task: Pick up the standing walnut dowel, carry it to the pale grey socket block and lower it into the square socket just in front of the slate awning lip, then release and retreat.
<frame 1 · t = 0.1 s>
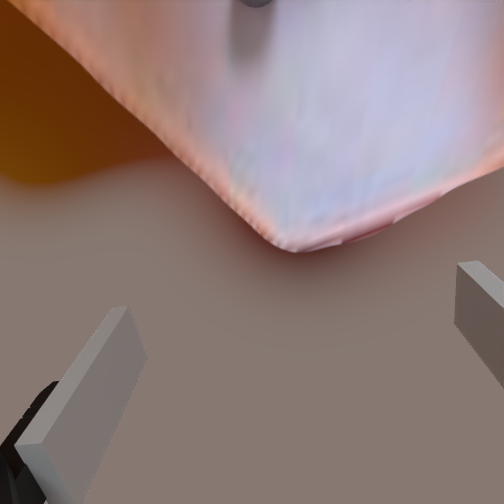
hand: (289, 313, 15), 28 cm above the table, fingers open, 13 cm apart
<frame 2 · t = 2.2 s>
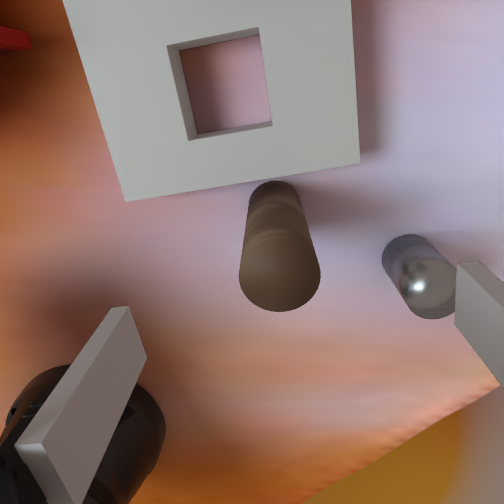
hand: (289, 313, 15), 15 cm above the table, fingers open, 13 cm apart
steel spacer: (406, 257, 31), on the table
socket block: (214, 20, 25), on the table
walnut dowel: (274, 206, 30), on the table
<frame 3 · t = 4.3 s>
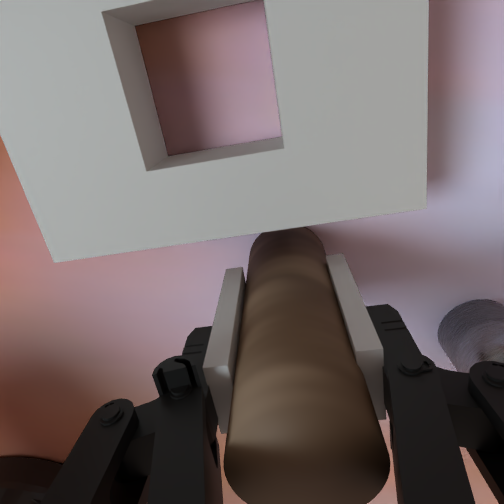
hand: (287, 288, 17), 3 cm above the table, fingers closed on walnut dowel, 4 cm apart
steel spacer: (474, 330, 21), on the table
walnut dowel: (287, 259, 20), on the table, touching gripper
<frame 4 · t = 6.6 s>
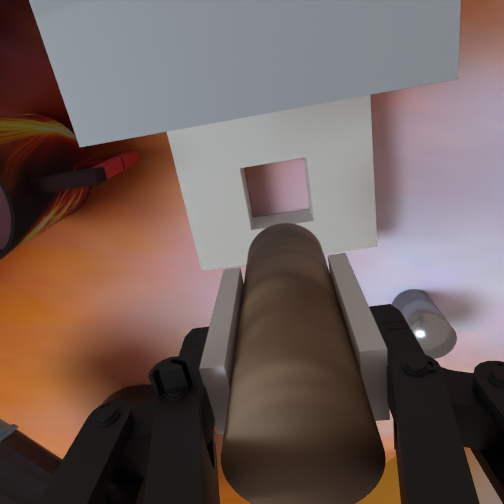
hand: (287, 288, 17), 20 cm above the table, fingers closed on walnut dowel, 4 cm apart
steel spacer: (411, 305, 40), on the table
mug: (58, 154, 35), on the table
socket block: (270, 141, 34), on the table
walnut dowel: (285, 258, 20), point 16 cm above the table, touching gripper
when the fingers open (5 cm above the table, at t = 9.2 s): walnut dowel drops 1 cm, on the table.
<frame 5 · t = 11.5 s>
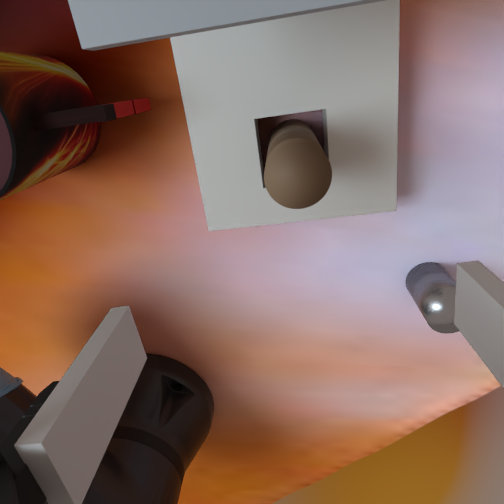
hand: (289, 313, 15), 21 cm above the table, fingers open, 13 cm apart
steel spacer: (426, 280, 38), on the table
mug: (65, 101, 33), on the table
socket block: (287, 94, 32), on the table
walnut dowel: (292, 143, 33), on the table
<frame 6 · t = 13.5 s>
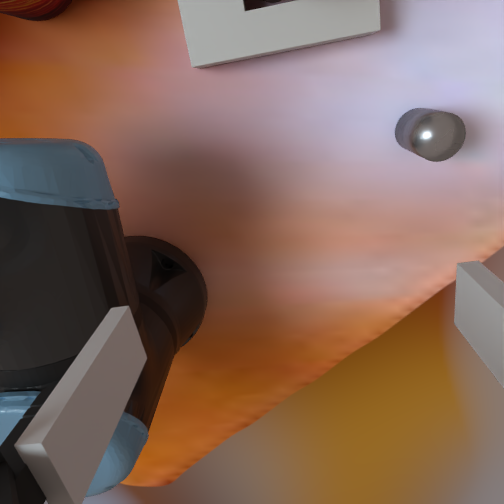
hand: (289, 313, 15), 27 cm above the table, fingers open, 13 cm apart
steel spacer: (415, 129, 38), on the table
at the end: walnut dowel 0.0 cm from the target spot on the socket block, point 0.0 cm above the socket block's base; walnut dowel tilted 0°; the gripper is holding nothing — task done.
